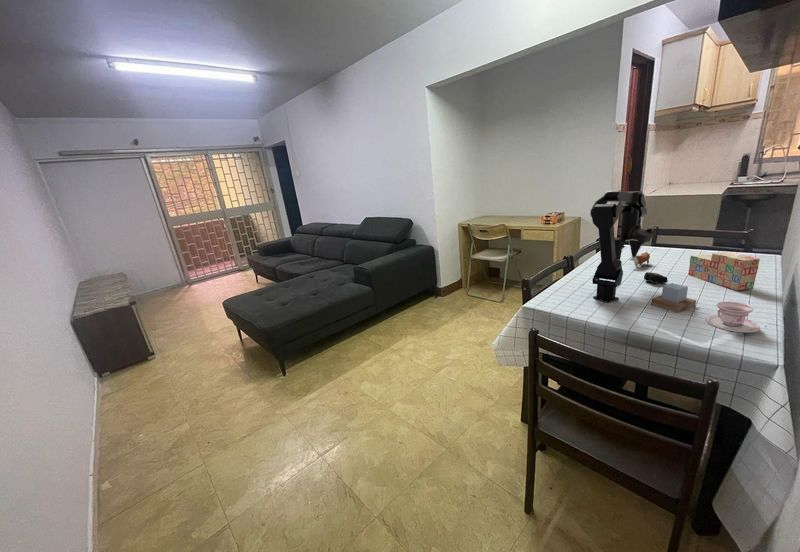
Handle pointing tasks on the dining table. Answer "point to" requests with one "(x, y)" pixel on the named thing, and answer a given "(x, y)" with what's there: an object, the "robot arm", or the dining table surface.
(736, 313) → the teacup
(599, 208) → the robot arm
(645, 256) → the bull figurine
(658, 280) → the tape measure
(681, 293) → the slate cube
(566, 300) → the dining table surface
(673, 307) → the walnut block
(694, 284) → the dining table surface
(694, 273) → the stack of blocks
